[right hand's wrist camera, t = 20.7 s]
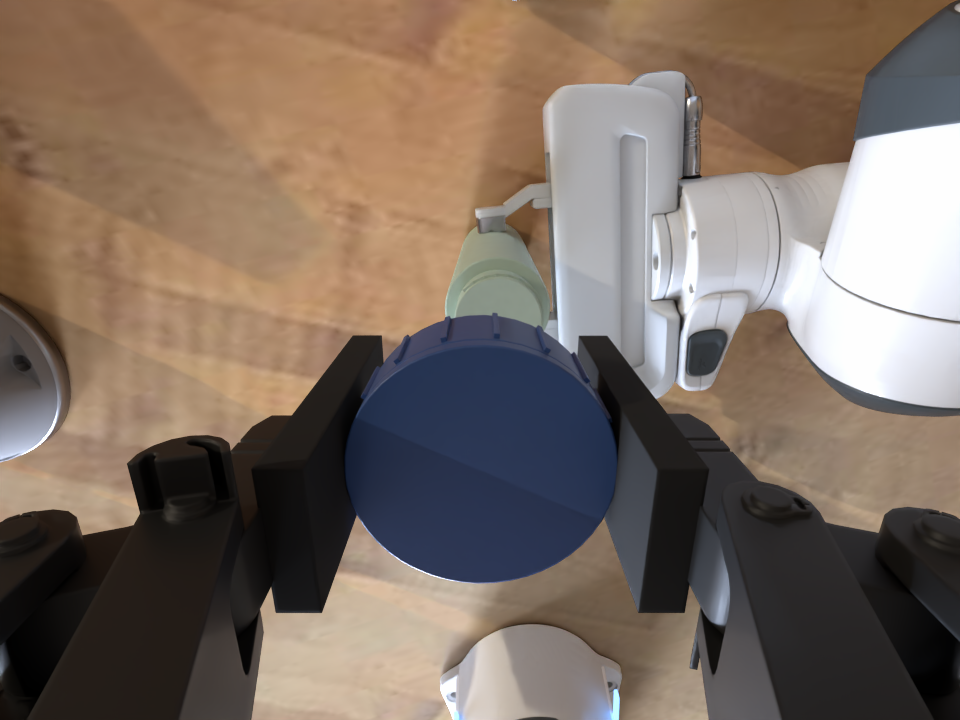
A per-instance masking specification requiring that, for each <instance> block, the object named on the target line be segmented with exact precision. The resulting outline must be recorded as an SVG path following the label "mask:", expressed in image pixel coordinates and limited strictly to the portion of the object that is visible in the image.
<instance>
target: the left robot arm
mask: <svg viewBox="0 0 960 720" xmlns="http://www.w3.org/2000/svg"><path fill="white" fill-rule="evenodd" d="M685 87H686V89H687V91H688V95H689V97H687V98H685ZM702 115H703V103H702V97H701V96H696V91H695V88H694V85H693V83H692V82H691V80H690V79H689V78H688V77H687V76H686V75H685V74H683V73H681V72H678V71H673V70H668V71H659V72H649V73H645V74H642V75H640V76H638V77H636V78H635V79H634V80H633V81H632V82H630V84H629V85H621V84H578V85H567V86H563V87H560V88H559V89H557V90H556V91H555V92H554V93H553V94H552V95H551V96H550V97H549V99H548V100H547V102H546V103H545V105H544V107H543V129H544V149H545V168H546V183H539V184H529V185H527V186H526V187H524V188H523V189H522V190H520V191H519V192H518V193H516V194H515V195H514V196H512V197H511V198H510V199H508V200H507V201H505V202H504V203H503V205H500V206H490V207H481V208H476V209H475V212H476V222H477V231H478V233H479V234H481V233H489V232H490V231H491V230H492V231H494V232H503V231H506V225H505V218H506V217H508V216H509V215H510V214H512V213H513V212H515V211H516V210H517V209H519V208H520V207H522V206H523V205H524V204H526V203H527V202H529V201H530V205H531V206H532V207H533V208H534V209H539V208H548V226H549V245H550V264H551V284H552V303H553V311H551V312H550V315H549V320H548V323H547V326H546V328H545V330H544V332H546V333H547V334H548V335H550V336H551V337H553V338H554V339H556V340H557V341H558V342H559V343H561V344H562V345H563V346H564V347H565V348H566V349H567V350H568V351H569V352H570V353H571V354H572V353H573V352H575V353H576V354H577V353H578V339H579V336H608V337H609V338H610V340H611V341H612V342H613V344H614V345H615V346H616V348H617V349H618V350H619V352H620V353H621V354H622V355H623V357H624V358H625V359H626V361H627V362H628V363H629V365H630V366H631V367H632V369H633V370H634V371H635V372H636V374H637V375H638V376H639V378H640V379H641V380H642V382H643V383H644V384H645V386H646V387H647V388H648V389H649V391H650V392H651V393H652V395H653V396H654V397H655V399H657V398H659V397H661V396H663V395H664V394H665V393H666V392H667V391H668V390H669V389H670V388H671V387H672V385H673V383H674V382H676V383H677V384H678V385H679V386H681V387H682V388H683V389H685V390H688V391H700V390H705V389H707V388H709V387H710V386H711V385H712V384H713V383H714V381H715V379H716V377H717V374H718V372H719V369H720V367H721V364H722V362H723V359H724V357H725V354H726V352H727V350H728V347H729V345H730V343H731V340H732V338H733V336H734V334H735V332H736V330H737V327H738V325H739V324H740V322H741V320H742V318H743V316H744V314H750V313H753V312H757V311H760V310H765V309H773V310H777V311H779V312H781V313H783V314H784V315H785V316H786V318H787V320H788V321H787V328H788V331H789V333H790V335H791V336H792V338H793V339H794V341H795V342H796V344H797V345H798V347H799V348H800V350H801V351H802V353H803V354H804V355H805V357H806V358H807V359H808V361H809V362H810V363H811V365H812V366H813V367H814V368H815V370H816V371H817V372H818V373H819V375H820V376H821V377H822V378H823V379H824V380H825V381H826V382H827V383H828V384H829V385H830V386H831V387H832V388H833V389H834V390H836V391H837V392H838V393H839V394H840V395H842V396H843V397H844V398H846V399H847V400H849V401H851V402H853V403H855V404H857V405H860V406H862V407H865V408H868V409H872V410H876V411H881V412H886V413H893V414H901V415H910V416H931V417H943V416H957V415H960V0H958V1H955V2H953V3H950V4H949V5H947V6H946V7H945V8H943V9H942V10H940V11H939V12H938V13H936V14H935V15H934V16H932V17H931V18H930V19H928V20H927V21H926V22H925V23H923V24H922V25H921V26H919V27H918V28H917V29H916V30H914V31H913V32H912V33H911V34H910V35H908V36H907V37H906V38H905V39H904V40H903V41H901V42H900V43H899V44H898V45H897V46H896V47H895V48H894V49H893V50H892V51H891V52H889V53H888V54H887V55H886V56H885V57H884V58H883V59H882V60H881V61H880V62H879V63H878V64H877V65H876V66H875V67H874V68H873V69H872V70H871V71H870V72H869V73H868V74H867V75H866V78H865V83H864V88H863V93H862V98H861V103H860V108H859V113H858V118H857V123H856V128H855V133H854V137H853V141H856V143H855V146H854V149H853V153H852V156H851V160H850V162H842V163H831V164H821V165H815V166H812V167H808V168H805V169H803V170H801V171H798V172H795V173H792V174H788V175H772V174H767V173H763V172H743V173H733V174H723V175H714V176H703V177H702V176H700V168H701V165H700V164H701V144H700V143H701V140H700V121H701V120H702ZM682 176H683V177H682ZM679 177H682V178H681V179H678V178H679ZM621 681H622V673H621V667H620V665H619V664H617V663H616V662H614V661H612V660H610V659H608V658H606V657H603V656H600V655H598V654H597V653H595V652H594V651H593V650H592V649H591V648H590V647H589V646H588V645H587V644H586V643H585V642H584V641H583V640H582V639H580V638H579V637H577V636H576V635H574V634H572V633H570V632H568V631H566V630H563V629H560V628H557V627H553V626H548V625H540V624H524V625H516V626H511V627H507V628H504V629H501V630H498V631H496V632H494V633H491V634H490V635H488V636H486V637H485V638H483V639H482V640H480V641H479V642H478V643H477V644H476V645H475V646H474V647H473V648H472V649H471V650H470V651H469V653H468V654H467V655H466V657H465V658H464V660H463V661H462V662H461V663H460V664H459V665H457V666H455V667H453V668H452V669H450V670H449V671H447V672H446V673H444V674H443V675H442V676H441V678H440V689H441V692H442V694H443V697H444V699H445V701H446V703H447V705H448V708H449V710H450V712H451V714H452V717H453V719H454V720H619V700H620V698H619V694H618V692H619V688H620V685H621Z"/></svg>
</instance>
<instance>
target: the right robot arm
mask: <svg viewBox="0 0 960 720" xmlns="http://www.w3.org/2000/svg"><path fill="white" fill-rule="evenodd" d="M577 356H578V358H579V360H580V362H581V364H582V366H583V368H584V370H585V372H586V373H587V375H588V377H589V379H590V384H591V386H592V388H593V389H594V388H596V390H597V392H598V393H599V395H600V397H601V399H602V401H603V403H604V405H605V407H606V409H607V411H608V412H609V414H610V416H611V418H612V421H613V422H612V423H610V424H611V427H612V429H613V432H614V436H615V440H616V444H617V452H618V461H617V472H616V481H615V490H614V495H613V498H612V500H611V503H610V506H609V508H608V510H607V512H606V514H605V516H604V518H605V520H606V523H607V526H608V529H609V532H610V534H611V537H612V540H613V543H614V546H615V548H616V551H617V554H618V557H619V560H620V562H621V565H622V568H623V571H624V574H625V576H626V579H627V582H628V585H629V588H630V590H631V593H632V596H633V599H634V602H635V604H636V607H637V610H638V613H685V607H686V601H687V595H688V590H689V584H690V586H691V588H692V590H693V592H694V594H695V596H696V598H697V600H698V602H699V604H700V606H701V607H700V612H699V618H698V623H697V628H696V634H695V639H694V645H693V650H692V655H691V662H690V668H691V669H696V670H697V668H698V663H699V658H700V660H701V667H702V674H703V681H704V688H705V695H706V702H707V709H708V716H709V720H960V519H958V518H957V517H956V516H953V515H951V514H947V513H944V512H942V513H939V511H936V510H932V509H921V508H912V507H904V508H896V509H892V510H890V511H889V512H888V513H886V514H885V515H884V518H883V522H882V525H881V528H880V531H879V533H876V532H870V531H865V530H860V529H854V528H849V527H844V526H839V525H834V524H830V523H825V521H824V519H823V517H822V516H821V514H820V512H819V511H818V510H817V509H816V508H815V507H814V506H813V504H812V503H811V502H810V501H808V500H806V499H805V498H803V497H802V496H800V495H799V494H797V493H795V492H793V491H790V490H788V489H785V488H783V487H781V486H778V485H774V484H769V483H765V482H760V481H758V480H757V479H756V478H755V477H754V475H753V474H752V473H751V472H750V471H749V470H748V469H747V468H746V467H745V465H744V464H743V463H742V462H741V461H740V460H739V459H738V458H737V456H736V455H735V454H734V453H733V452H730V449H729V447H728V446H727V445H726V444H725V443H724V442H723V441H720V437H719V436H718V435H717V434H716V433H715V432H714V431H713V430H712V428H711V427H710V426H709V425H708V424H706V423H704V422H702V421H701V420H699V419H697V418H695V417H693V416H692V415H690V414H667V413H666V412H665V410H664V409H663V408H662V406H661V405H660V404H659V403H658V401H657V400H656V399H655V397H654V396H653V395H652V393H651V392H650V391H649V389H648V388H647V387H646V386H645V384H644V383H643V382H642V380H641V379H640V378H639V376H638V375H637V374H636V372H635V371H634V370H633V369H632V367H631V366H630V365H629V363H628V362H627V361H626V359H625V358H624V357H623V355H622V354H621V353H620V352H619V350H618V349H617V348H616V346H615V345H614V344H613V342H612V341H611V340H610V338H609V337H608V336H579V339H578V353H577ZM383 364H384V363H383V348H382V336H352V338H351V339H350V340H349V341H348V343H347V344H346V345H345V347H344V348H343V349H342V351H341V352H340V353H339V355H338V356H337V357H336V359H335V360H334V361H333V362H332V364H331V365H330V366H329V368H328V369H327V370H326V372H325V373H324V374H323V376H322V377H321V378H320V379H319V381H318V382H317V383H316V385H315V386H314V387H313V389H312V390H311V391H310V393H309V394H308V395H307V396H306V398H305V399H304V400H303V402H302V403H301V404H300V406H299V407H298V408H297V410H296V411H295V412H294V413H293V415H292V416H270V417H269V418H267V419H265V420H263V421H262V422H260V423H258V424H256V425H255V426H253V427H252V428H251V429H250V430H249V431H248V432H247V433H246V434H245V436H244V437H243V438H242V439H241V442H240V443H237V445H236V446H235V447H234V448H233V449H232V450H231V451H230V446H229V443H228V442H227V441H225V440H224V439H222V438H220V437H214V436H209V435H201V436H187V437H182V438H177V439H171V440H168V441H165V442H163V443H160V444H157V445H154V446H152V447H150V448H148V449H146V450H144V451H142V452H140V453H139V454H137V455H136V456H135V457H134V458H133V459H132V460H130V461H129V462H128V463H127V465H128V469H129V473H130V477H131V480H132V484H133V488H134V492H135V495H136V499H137V503H138V507H139V511H140V515H139V517H138V518H137V520H136V522H135V524H134V525H133V526H129V527H124V528H119V529H114V530H108V531H103V532H98V533H93V534H87V535H82V533H81V530H80V526H79V523H78V520H77V517H76V516H74V515H73V514H71V513H70V512H69V511H62V510H54V509H53V510H45V511H32V512H27V513H23V514H22V515H20V514H19V515H16V516H13V517H9V518H7V519H5V520H4V521H3V522H0V720H251V718H252V711H253V704H254V697H255V690H256V683H257V676H258V669H259V662H260V655H261V647H262V640H263V633H264V632H263V624H262V618H261V612H260V608H261V606H262V604H263V602H264V600H265V598H266V596H267V594H268V592H269V590H270V588H272V593H273V599H274V605H275V611H276V613H322V611H323V608H324V605H325V603H326V600H327V597H328V594H329V591H330V589H331V586H332V583H333V580H334V577H335V575H336V572H337V569H338V566H339V563H340V561H341V558H342V555H343V552H344V549H345V547H346V544H347V541H348V538H349V535H350V532H351V530H352V527H353V524H354V521H355V518H356V516H357V513H356V511H355V509H354V507H353V505H352V503H351V500H350V496H349V493H348V490H347V486H346V480H345V473H344V455H345V448H346V441H347V438H348V434H349V431H350V428H351V425H352V423H353V421H354V419H355V417H356V415H357V413H358V411H359V409H360V407H361V405H362V403H363V401H364V399H362V398H361V395H362V393H363V391H364V390H365V388H366V386H367V384H368V382H369V380H370V378H371V376H372V374H373V372H374V371H375V369H376V367H377V366H378V367H380V368H381V366H382V365H383ZM70 392H71V391H70V382H69V376H68V373H67V369H66V366H65V364H64V361H63V359H62V357H61V355H60V353H59V351H58V349H57V347H56V346H55V344H54V342H53V341H52V340H51V338H50V337H49V335H48V334H47V333H46V332H45V330H44V329H43V328H42V327H41V326H40V325H39V324H38V323H37V322H36V321H35V320H34V319H33V318H32V317H31V316H30V315H29V314H28V313H26V312H25V311H24V310H23V309H21V308H20V307H19V306H17V305H16V304H15V303H13V302H11V301H10V300H8V299H7V298H5V297H3V296H1V295H0V462H3V461H7V460H10V459H13V458H15V457H17V456H20V455H22V454H25V453H27V452H29V451H31V450H32V449H34V448H36V447H37V446H39V445H40V444H42V443H44V442H45V441H47V440H48V439H49V438H51V437H52V436H53V435H54V434H55V433H56V432H57V431H58V429H59V428H60V427H61V425H62V424H63V422H64V420H65V418H66V416H67V413H68V409H69V405H70Z"/></svg>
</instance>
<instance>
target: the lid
mask: <svg viewBox="0 0 960 720" xmlns="http://www.w3.org/2000/svg"><path fill="white" fill-rule="evenodd" d="M361 398H362V399H364V401H363V403H362V405H361V407H360V409H359V411H358V413H357V415H356V417H355V419H354V421H353V423H352V425H351V428H350V431H349V434H348V438H347V441H346V448H345V455H344V473H345V480H346V486H347V490H348V493H349V496H350V500H351V503H352V505H353V507H354V509H355V511H356V513H357V515H358V517H359V519H360V520H361V522H362V523H363V525H364V526H365V528H366V530H367V531H368V532H369V533H370V534H371V535H372V537H373V538H374V539H375V540H376V541H377V542H378V543H379V544H380V545H381V546H382V547H383V548H385V549H386V550H387V551H388V552H389V553H391V554H392V555H393V556H395V557H396V558H398V559H399V560H400V561H402V562H404V563H406V564H408V565H409V566H411V567H413V568H415V569H417V570H420V571H422V572H424V573H427V574H429V575H432V576H436V577H439V578H443V579H446V580H452V581H458V582H466V583H497V582H504V581H511V580H515V579H519V578H523V577H527V576H530V575H533V574H535V573H538V572H541V571H543V570H545V569H547V568H549V567H551V566H553V565H555V564H557V563H559V562H560V561H562V560H563V559H565V558H566V557H568V556H569V555H571V554H572V553H573V552H574V551H575V550H577V549H578V548H579V547H580V546H581V545H582V544H583V543H584V542H585V541H586V540H587V539H588V538H589V537H590V536H591V535H592V534H593V532H594V531H595V530H596V528H597V527H598V526H599V524H600V523H601V521H602V520H603V518H604V516H605V514H606V512H607V510H608V508H609V506H610V503H611V500H612V498H613V495H614V490H615V481H616V472H617V461H618V452H617V444H616V440H615V436H614V432H613V429H612V427H611V424H610V423H612V422H613V421H612V418H611V416H610V414H609V412H608V411H607V409H606V407H605V405H604V403H603V401H602V399H601V397H600V395H599V393H598V392H597V390H596V388H594V389H593V388H592V386H591V384H590V379H589V377H588V375H587V373H586V372H585V370H584V368H583V366H582V364H581V362H580V360H579V358H578V356H577V354H576V353H575V352H573V353H572V354H571V353H570V352H569V351H568V350H567V349H566V348H565V347H564V346H563V345H562V344H561V343H559V342H558V341H557V340H556V339H554V338H553V337H551V336H550V335H548V334H547V333H546V332H544V331H543V328H542V327H541V326H539V325H538V326H537V327H534V326H532V325H530V324H527V323H524V322H521V321H518V320H515V319H511V318H506V317H501V316H498V313H492V316H491V315H469V316H462V317H456V318H451V317H450V316H447V317H445V320H444V321H441V322H438V323H435V324H433V325H431V326H429V327H426V328H424V329H422V330H420V331H419V332H417V333H416V334H414V335H412V336H411V337H409V335H407V336H405V337H404V339H403V341H402V343H401V345H399V346H398V347H397V348H396V349H395V350H394V351H393V352H392V354H391V355H390V356H389V357H388V358H387V359H386V361H385V362H384V364H383V365H382V366H381V368H380V367H378V366H377V367H376V369H375V371H374V372H373V374H372V376H371V378H370V380H369V382H368V384H367V386H366V388H365V390H364V391H363V393H362V395H361Z"/></svg>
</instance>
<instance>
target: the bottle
mask: <svg viewBox="0 0 960 720" xmlns="http://www.w3.org/2000/svg"><path fill="white" fill-rule="evenodd" d="M505 225H506V231H503V232H494V231H492V230H491V231H490V232H489V233H481V234H479V233H478V231H477V226H476V227H475V228H474V229H472V230H471V231H470V232H469V234H468V235H467V237H466V239H465V241H464V243H463V246H462V249H461V252H460V255H459V259H458V262H457V265H456V268H455V271H454V274H453V277H452V280H451V283H450V286H449V290H448V293H447V297H446V302H445V315H446V317H447V316H450V317H451V318H456V317H462V316H469V315H491V316H492V313H498V316H501V317H506V318H511V319H515V320H518V321H521V322H524V323H527V324H530V325H532V326H534V327H537V326H538V325H539V326H541V327H542V328H543V331H544V330H545V328H546V326H547V323H548V320H549V315H550V299H549V295H548V291H547V289H546V286H545V284H544V282H543V280H542V278H541V276H540V274H539V272H538V270H537V268H536V266H535V264H534V262H533V260H532V258H531V256H530V254H529V252H528V250H527V248H526V246H525V244H524V242H523V240H522V238H521V236H520V235H519V233H518V232H517V231H516V230H515V229H514V228H512V227H511V226H509V225H508V224H505Z"/></svg>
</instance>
